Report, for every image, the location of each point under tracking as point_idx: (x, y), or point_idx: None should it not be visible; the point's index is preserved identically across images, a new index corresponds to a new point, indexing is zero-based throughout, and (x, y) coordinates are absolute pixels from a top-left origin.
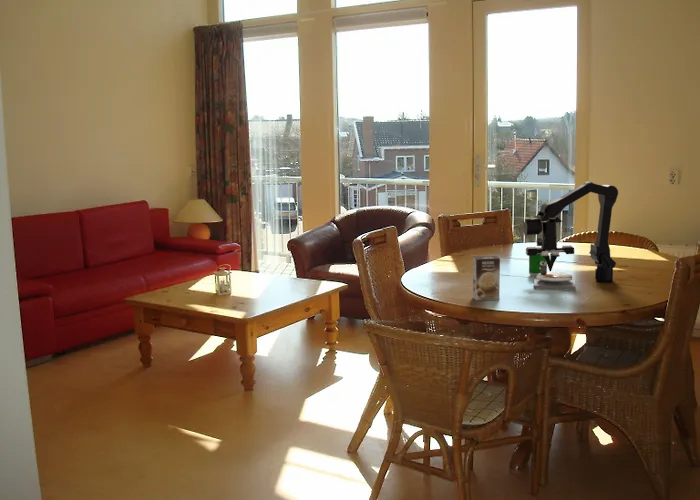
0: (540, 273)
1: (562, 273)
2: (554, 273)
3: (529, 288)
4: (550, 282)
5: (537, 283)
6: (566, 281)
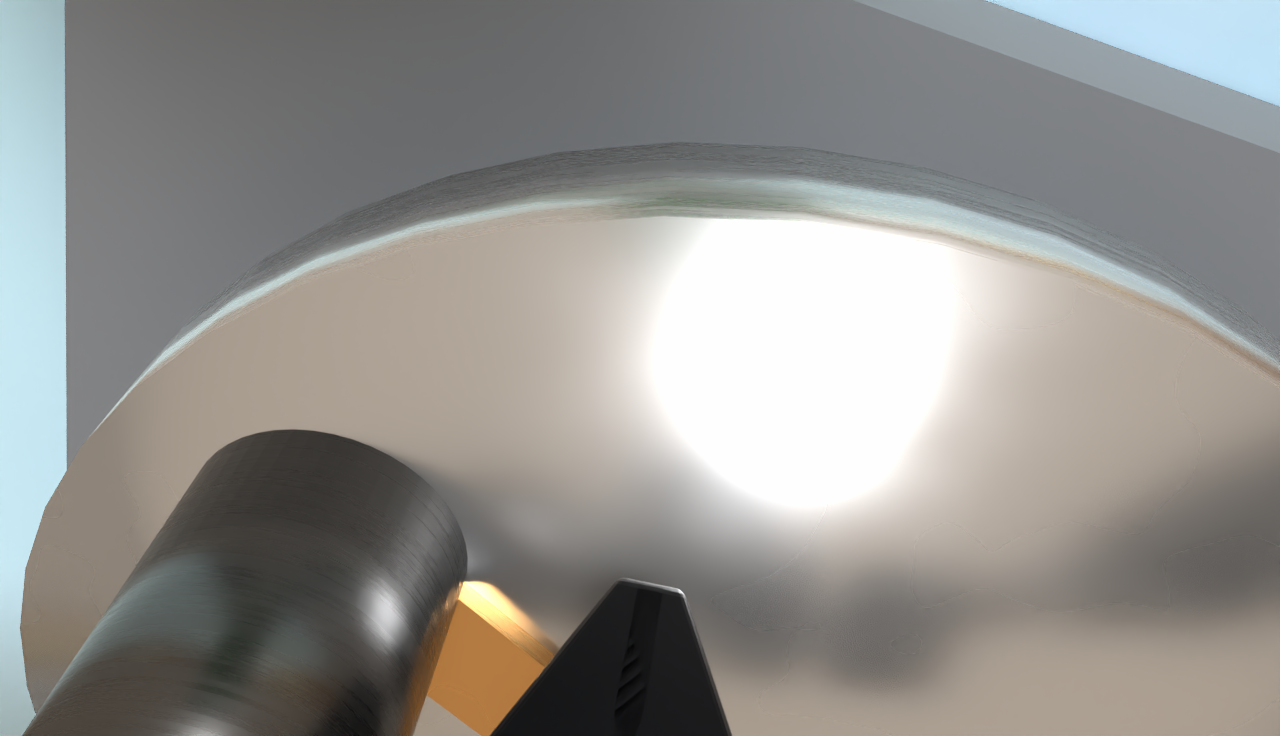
0: (185, 411)
1: (1249, 659)
2: (872, 564)
3: (18, 628)
4: None
5: None
6: None
